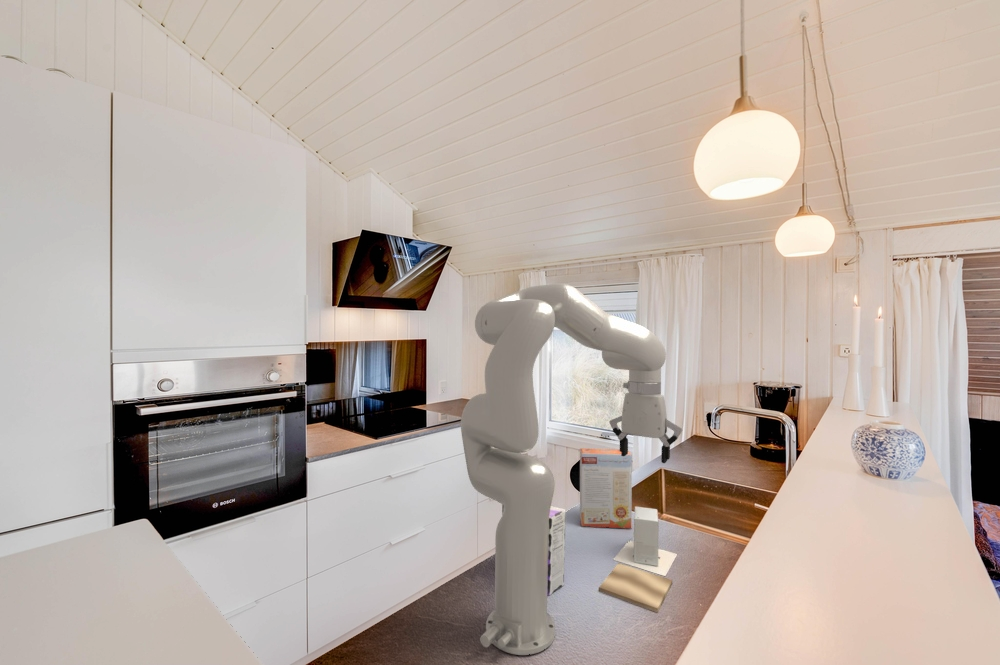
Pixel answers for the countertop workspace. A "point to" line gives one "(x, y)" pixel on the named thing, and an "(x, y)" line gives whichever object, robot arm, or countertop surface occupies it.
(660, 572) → the card
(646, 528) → the small box
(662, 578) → the coaster
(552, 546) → the candy box
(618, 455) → the cracker box
